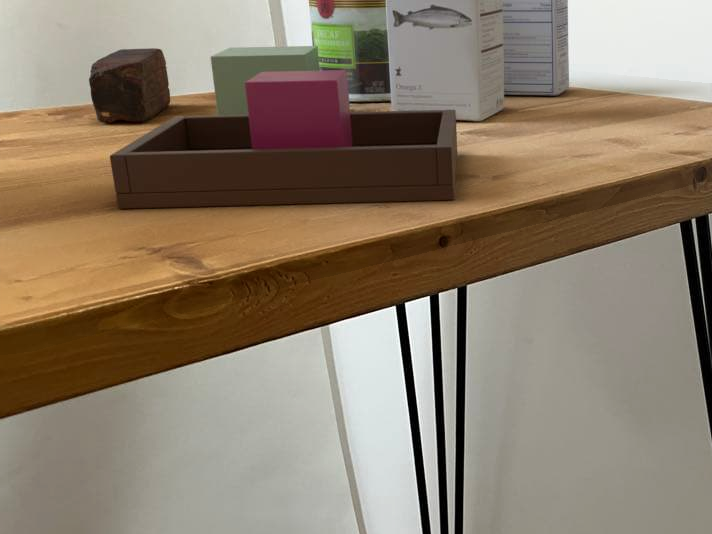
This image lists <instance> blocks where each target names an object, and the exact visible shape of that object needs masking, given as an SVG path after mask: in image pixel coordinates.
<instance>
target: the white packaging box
mask: <svg viewBox="0 0 712 534" xmlns="http://www.w3.org/2000/svg"><path fill="white" fill-rule="evenodd" d="M386 16H387V32H388V50H389V69H390V87H391V101H390V103H391V104H390V105H391V111H419V110H455V111H456V121H469V122H481V121H484V120H486V119H488V118H489V117H492V116H493V115H495V114H497V113H499V112H501V111H502V110H503V109H504V108H505V95H504V40H503V0H386Z"/></svg>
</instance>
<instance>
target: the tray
mask: <svg viewBox="0 0 712 534" xmlns="http://www.w3.org/2000/svg"><path fill="white" fill-rule="evenodd" d="M350 118H351V131H352V143H353V147H327V148H286V149H252V142H251V133H250V124H249V116H248V114H247V115H218V114H214V115H213V114H210V115H208V114H207V115H206V114H205V115H204V114H203V115H175V116H174V117H172V118H170V119H168V120H167V121H165V122H163V123H161V124H160V125H158V126H157V127H155V128H153V129H152V130H150V131H148V132H147V133H145V134H143V135H141V136H140V137H138V138H137V139H135V140H134V141H133V140H132V142H130V143H128V144H127V145H125V146H124V147H122V148H120V149H118V150H116V151H115V152H114V153H111V154H110V155H109V162H110V167H111V173H112V180H113V186H114V190H115V198H116V204H117V208H118V210H119V209H120V210H121V209H122V210H124V209H162V208H168V209H169V208H194V207H195V208H201V207H203V208H205V207H235V206H237V207H238V206H240V207H242V206H272V205H273V206H275V205H311V204H347V203H352V204H353V203H384V202H385V203H386V202H387V203H388V202H423V201H453V200H455V189H456V188H455V187H456V175H457V163H458V135H457V134H458V133H457V132H458V131H457V120H456V111H455V110H419V111H392V110H384V111H382V110H381V111H380V110H379V111H350Z"/></svg>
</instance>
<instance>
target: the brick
mask: <svg viewBox="0 0 712 534" xmlns="http://www.w3.org/2000/svg"><path fill="white" fill-rule="evenodd" d="M88 82H89V87H90V98H91V102H92V105H93V108H94V111H95V114H96V118H97V121H98V122H100V123H103V124H112V123H113V122H115V121H127V122H129V123H134V122H137V123H141V122H142V123H143V122H146V121H149V120H151V119H153V118H154V117H155V116H156V115H158V114H159V113H161V111H163V110H165V109H166V108H167V107H168V106H169V105H170V103H171V92H170V87H169V86H170V84H169V76H168V70H167V60H166V58H165V54H164V52H163V50H162V49H160V48H127V49H126V48H123V49H118V50H116V51H113V52H111V53H109V54H107V55H106V56H103V57H101V58H99V59H98V60H96V61H95V62H93V63H92V64H91V69H90V75H89V78H88Z"/></svg>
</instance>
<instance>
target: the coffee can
mask: <svg viewBox="0 0 712 534" xmlns="http://www.w3.org/2000/svg"><path fill="white" fill-rule="evenodd" d="M308 6H309V17H310V18H309V19H310V30H311V43H312V46H317V47H318V57H319V68H320V71H327V70H346V71H347V81H348V93H349V103H386V102H388V103H389V102H391V87H390V69H389V50H388V32H387V16H386V0H308Z"/></svg>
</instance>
